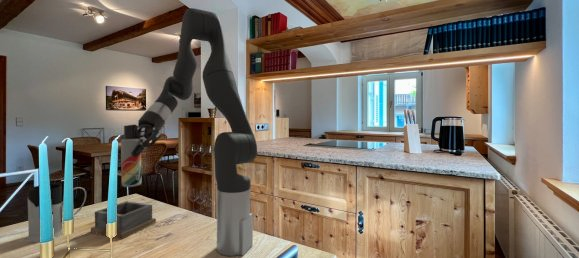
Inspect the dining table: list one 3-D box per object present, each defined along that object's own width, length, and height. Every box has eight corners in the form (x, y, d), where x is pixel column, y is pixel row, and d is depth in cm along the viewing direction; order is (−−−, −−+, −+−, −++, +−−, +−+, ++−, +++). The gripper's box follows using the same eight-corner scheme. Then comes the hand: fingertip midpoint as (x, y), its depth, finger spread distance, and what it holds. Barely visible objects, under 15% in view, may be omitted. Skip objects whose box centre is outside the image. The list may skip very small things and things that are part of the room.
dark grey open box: (155, 222, 92) (155, 204, 92) (122, 239, 80) (121, 217, 80) (127, 217, 96) (126, 200, 96) (90, 232, 84) (90, 212, 84)
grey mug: (28, 234, 82) (26, 186, 81) (86, 223, 91) (85, 179, 90) (24, 245, 75) (23, 193, 75) (87, 231, 84) (86, 185, 84)
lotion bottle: (132, 187, 84) (131, 125, 83) (117, 186, 86) (116, 124, 84) (145, 183, 90) (144, 124, 89) (131, 182, 91) (130, 123, 90)
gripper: (133, 109, 96) (101, 146, 85) (166, 110, 91) (136, 149, 80) (146, 123, 101) (117, 160, 90) (177, 125, 96) (150, 163, 86)
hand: (126, 154), depth 85 cm, fingers closed on lotion bottle, 5 cm apart
